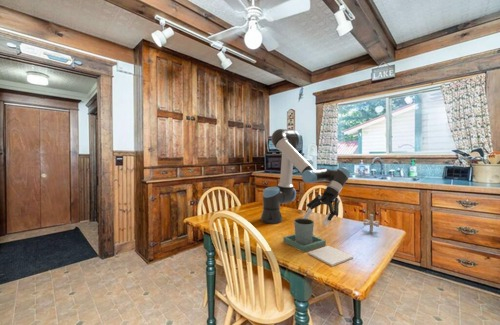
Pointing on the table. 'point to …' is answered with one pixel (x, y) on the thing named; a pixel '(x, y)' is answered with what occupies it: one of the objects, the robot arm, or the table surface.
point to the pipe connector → (371, 222)
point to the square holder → (317, 244)
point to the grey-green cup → (303, 231)
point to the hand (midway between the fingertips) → (314, 221)
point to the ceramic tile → (330, 255)
